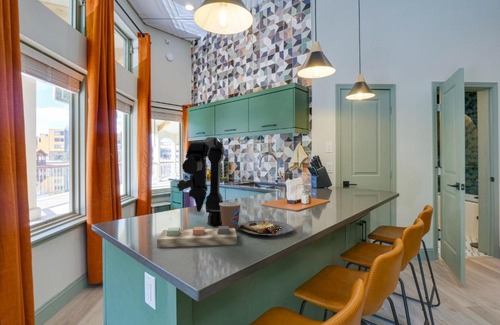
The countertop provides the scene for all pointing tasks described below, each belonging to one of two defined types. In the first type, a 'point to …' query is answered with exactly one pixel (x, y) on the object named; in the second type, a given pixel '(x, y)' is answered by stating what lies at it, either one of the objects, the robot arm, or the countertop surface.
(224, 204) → the coffee cup
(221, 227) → the charcoal key
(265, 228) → the food plate
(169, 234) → the sage green cube
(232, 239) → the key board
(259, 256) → the countertop surface
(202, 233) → the terracotta key
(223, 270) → the countertop surface
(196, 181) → the robot arm
